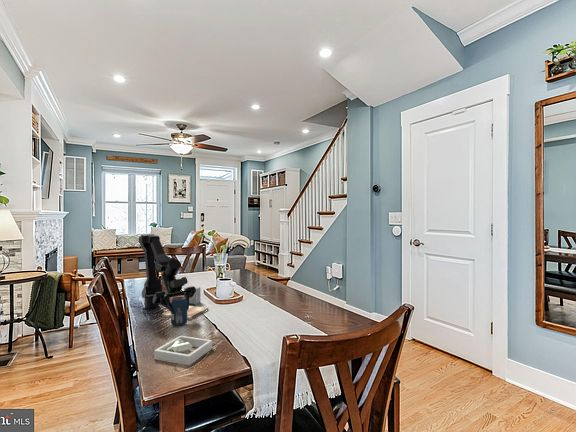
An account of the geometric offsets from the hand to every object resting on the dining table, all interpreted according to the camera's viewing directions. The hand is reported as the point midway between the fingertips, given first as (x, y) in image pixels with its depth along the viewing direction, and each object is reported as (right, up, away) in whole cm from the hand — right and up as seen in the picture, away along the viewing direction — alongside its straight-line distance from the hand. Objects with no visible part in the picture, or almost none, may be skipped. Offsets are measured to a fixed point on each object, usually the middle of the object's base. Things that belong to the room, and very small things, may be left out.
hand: (180, 310), depth 141 cm
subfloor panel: (-3, -6, +18) cm, 19 cm away
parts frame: (+11, -7, -28) cm, 31 cm away
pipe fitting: (+9, -7, -28) cm, 30 cm away
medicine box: (-6, -7, +36) cm, 37 cm away
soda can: (-1, -7, +1) cm, 7 cm away
